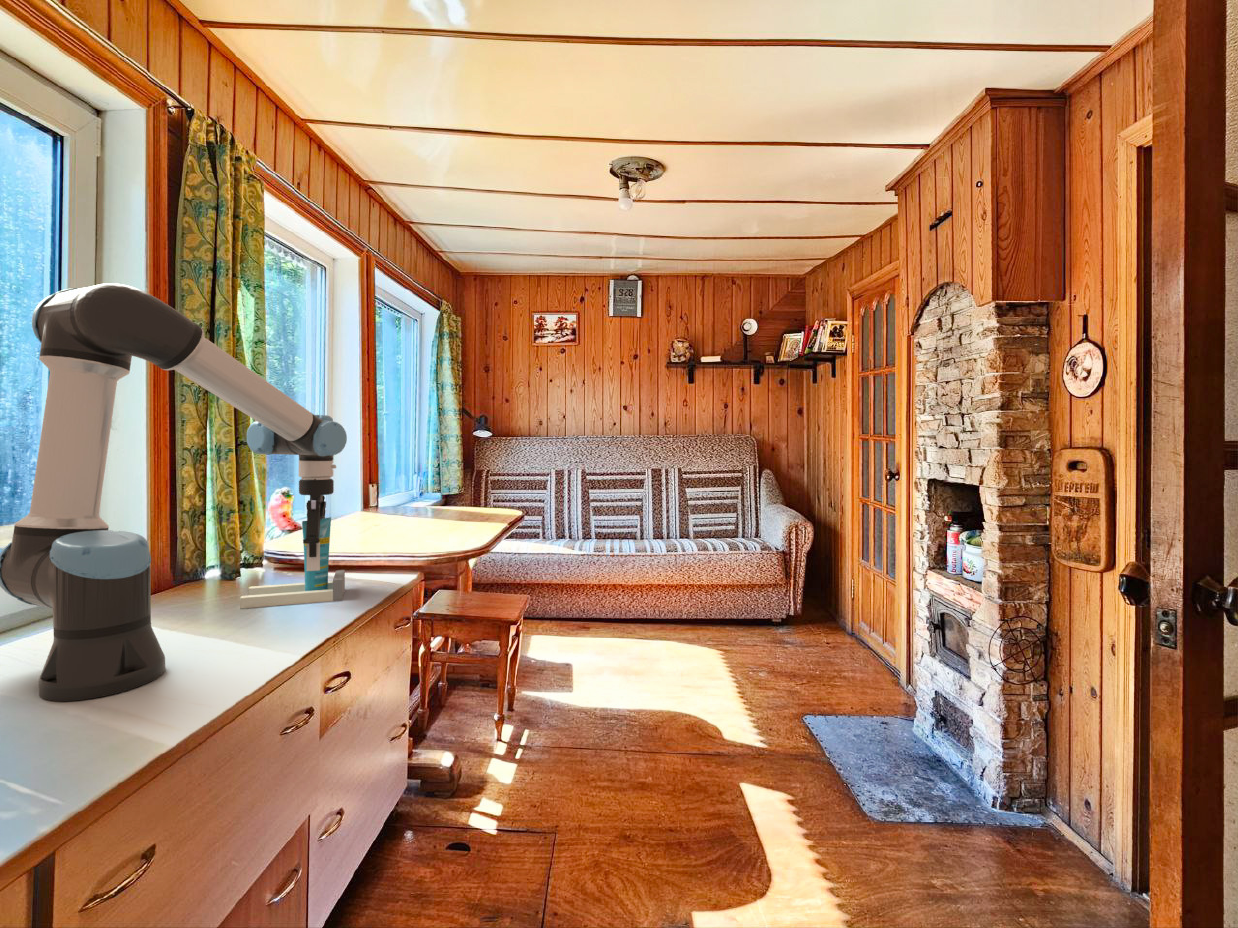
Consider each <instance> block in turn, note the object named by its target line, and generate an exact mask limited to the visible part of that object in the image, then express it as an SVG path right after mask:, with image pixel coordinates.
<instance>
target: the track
mask: <svg viewBox="0 0 1238 928" xmlns="http://www.w3.org/2000/svg"><path fill="white" fill-rule="evenodd" d="M345 571H346V570H345V569H339V570H335V573H334V574H333V575H334V576H333V578H332V580H328V590H315V591H305V582H297V583H284V584H283V583H282V584H281V583H280V584H269V585H267V584H266V585H256V586H255V585H254V586H249V587H248V594H247V595H241V596H240V598H239V607H240V608H239V609H240V610H241V609H251V608H252V609H253V608H263V607H264V608H265V607H274V606H275V607H278V606H287V605H298V604H299V605H301V604H313V603H314V604H315V603H323V602H327V603H328V602H337V601H343V598H344V593H345V591H346V590H345V589H346V583H345V581H346V580H345V579H346V576H345V575H346V574H345V573H346V572H345Z"/></svg>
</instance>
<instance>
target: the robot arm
mask: <svg viewBox="0 0 1238 928" xmlns="http://www.w3.org/2000/svg"><path fill="white" fill-rule="evenodd" d="M31 327H32V331H33V333H34V335H35V338H36V339H38V341H39V342H40V350H39V357H38V358H39V361H40V362H41V363H42V364H43V365H44V366H45V367H46V368H47V369H48V370H49V377H48V385H47V392H46V399H45V406H44V413H43V417H42V418H43V419H42V426H41V431H40V439H39V445H38V446H39V447H38V454H37V460H36V468H35V474H34V481H33V488H32V494H31V501H30V508H29V513H28V514H27V515H26V516H24V517H23V518H20V519H19V520H18V521H16V522H15V523H14V526H13V527H14V528H13V533H12V537H11V538H12V539H11V542H10V543H8V544H7V545H6V546H5V547H4V548H3V549H2V550H1V551H0V588H1V589H2V590H3V591H4V592H5V593H6V594H8V595H10V596H11V597H12V598H15V599H17V601H19V602H23V603H25V604H27V605H33V606H37V607H38V606H39V607H40V606H41V607H45V608H49V609H52V621H53V622H52V623H53V624H52V626H53V642H52V645H51V647H50V651H49V653H48V655H47V658H46V660H45V663H44V664H43V669H42V671H41V674H40V675H39V678H38V696H39V697H40V698H42V699H44V700H47V701H56V702H57V701H58V702H69V701H70V702H71V701H80V700H81V701H82V700H83V701H84V700H88V699H89V700H90V699H96V698H101V697H106V696H111V695H114V694H119V693H123V692H126V691H129V690H133V689H135V688H139V687H142V686H144V685H147V684H148V683H150V682H152V681H155V680H156V679H158V678H159V677H160V676H161V677H162V675H163V674H164V673H165V672H166V657H165V653H164V651H163V650H162V647H161V644H160V643H159V641H158V638H157V636H156V634H155V632H154V629H153V626H152V608H151V606H152V603H151V601H152V599H151V598H152V597H151V594H152V593H151V592H152V591H151V563H152V557H151V556H152V554H151V553H150V545H149V542H148V540H147V539H146V537H144V536H143V535H141V534H139V533H134V532H132V531H126V530H124V531H123V530H118V531H116V530H115V531H114V530H109V524H107V522H105V520H103V519H102V518H101V516H100V507H101V501H102V493H103V486H104V478H105V472H106V464H107V458H108V457H107V456H108V449H109V442H110V435H111V429H112V422H113V421H112V420H113V414H114V407H115V406H114V405H115V399H116V394H117V393H116V392H117V386H118V385H117V384H118V381H119V380H121V379H123V378H124V377H126V376H128V375H129V374H130V371H131V364H132V359H133V358H132V357H135V358H139V359H140V360H141V359H142V360H144V361H147V362H149V363H151V364H153V365H154V366H156V367H158V368H160V369H161V370H163V371H173V370H174V371H175V372H177V373H179V374H181V375H182V376H184V377H186V378H187V379H188V380H190V381H192V382H193V383H195V384H197V385H199V386H200V387H201V388H203V389H204V390H206V391H208V392H209V393H211V394H213V395H214V396H216V397H218V398H219V399H221V400H223V401H224V402H225V403H227V404H229V405H230V406H232V407H234V408H235V409H236V410H239V411H240V412H242V413H243V414H245V415H246V416H248V417H249V418H251V419H253V420H254V421H253V422H252V423H251V424H250V425H249V427H247V431H246V444H247V446H248V448H249V449H250V451H251V452H252V453H254V454H257V455H266V456H270V455H285V456H286V455H289V456H290V455H292V456H293V455H294V456H295V455H296V456H298V477H299V478H300V479H299V480H298V493H299V495H301V496H309V500H307V502H306V505H305V506H306V521H307V529H306V538H305V540H303V539H302V543H303V545H304V544H306V543H307V571H319V570H320V542H319V541H320V539H319V534H320V521H321V519H323V518H326V508H327V501H325V500H326V497H325V496H327V495H333V494H334V488H335V487H334V485H335V484H334V483H335V482H334V479H332V477H334V469H337V465H336V464H334V456H335V455H338V454H341V452H343V450H344V448H345V447H346V445H347V441H348V440H347V438H348V437H347V431H346V429H345V428H344V427H343V425H342V424H341V423H339V422H336V421H334V420H333V418H332V417H331V416H330V415H329V414H328V415H327V414H314V413H312V412H311V411H309V410H308V409H306V408H305V407H303V405H301V404H300V403H298V402H296V400H295V399H293V398H291V397H290V396H289V395H287V394H285V392H282V391H281V390H280V389H278V388H277V387H275V386H274V385H273V384H271V383H269V381H267V380H265V379H264V378H263V377H262V376H260V375H259V374H257V373H256V372H254V371H253V370H252V369H250V368H249V367H247V365H245V364H243V363H242V362H240V361H238V359H236V358H234V357H233V356H232V355H230V354H229V353H227V351H225V350H224V349H222V348H220V347H219V346H218V345H216V344H215V343H213V342H212V341H210V340H209V339H208V338H206V337H205V332H204V329H203V327H201V326H199V325H198V324H197V323H195V322H194V321H192V320H191V319H189V318H188V317H187V316H185V314H183V313H181V312H179V311H178V310H176V308H173V307H172V306H171V305H169V304H167V303H166V302H164V301H162V300H161V299H159V298H157V297H156V296H153V295H152V294H150V293H148V292H146V291H144V290H141V289H139V288H136V287H134V286H130V285H126V284H120V283H110V282H109V283H107V282H106V283H100V284H96V285H92V286H91V285H90V286H88V287H87V286H86V287H76V288H75V287H73V288H66V289H62V290H59V291H56V292H55V293H52V294H51V295H48V296H47V297H45V298H44V299H42V300H41V301H40V302H39V303H38V304H37V305H36V307H35V308H34V311H33V312H32V317H31Z"/></svg>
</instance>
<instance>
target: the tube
mask: <svg viewBox="0 0 1238 928" xmlns="http://www.w3.org/2000/svg"><path fill="white" fill-rule="evenodd" d="M331 523H332V518H331V517H325V518H323V519H321V521H320V534H319V539H320V541H319V542H320V570H319V571H307V543H306V544H303V556H304V557H303V559H304V560H303V561H304V562H303V563H304V565H303V566H304V583H305V591H315V590H328V581H329V561H330V560H329V558H330V541H331V525H332V524H331ZM301 527H302V541H303V540H305V538H306V529H307V520H302V521H301Z"/></svg>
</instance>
